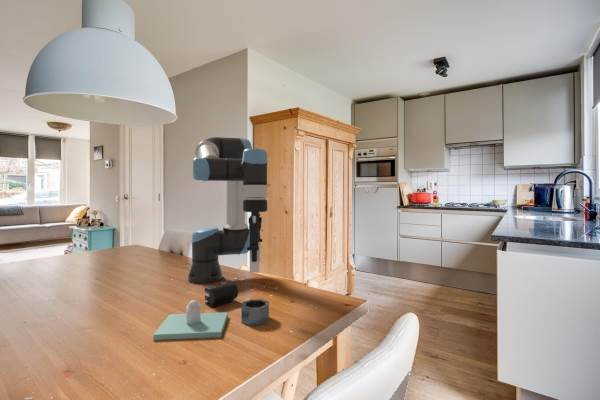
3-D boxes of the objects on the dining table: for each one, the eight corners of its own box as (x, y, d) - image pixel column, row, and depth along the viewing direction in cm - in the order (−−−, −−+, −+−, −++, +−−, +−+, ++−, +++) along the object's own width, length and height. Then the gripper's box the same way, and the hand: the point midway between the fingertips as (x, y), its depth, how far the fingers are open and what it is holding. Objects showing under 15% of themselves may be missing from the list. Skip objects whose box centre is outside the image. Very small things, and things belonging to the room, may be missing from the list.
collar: (243, 314, 102) (243, 299, 101) (269, 313, 102) (268, 298, 102) (240, 325, 93) (240, 309, 93) (268, 324, 94) (268, 308, 94)
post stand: (169, 319, 98) (169, 293, 98) (227, 316, 100) (227, 291, 100) (153, 340, 84) (152, 310, 84) (220, 337, 86) (220, 308, 86)
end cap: (214, 309, 106) (214, 290, 106) (203, 304, 111) (203, 285, 111) (238, 301, 114) (238, 283, 114) (227, 297, 119) (227, 279, 118)
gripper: (246, 198, 109) (246, 258, 109) (239, 199, 84) (239, 277, 84) (267, 198, 109) (267, 258, 110) (267, 199, 85) (267, 277, 85)
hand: (255, 267), depth 97 cm, fingers open, 13 cm apart
